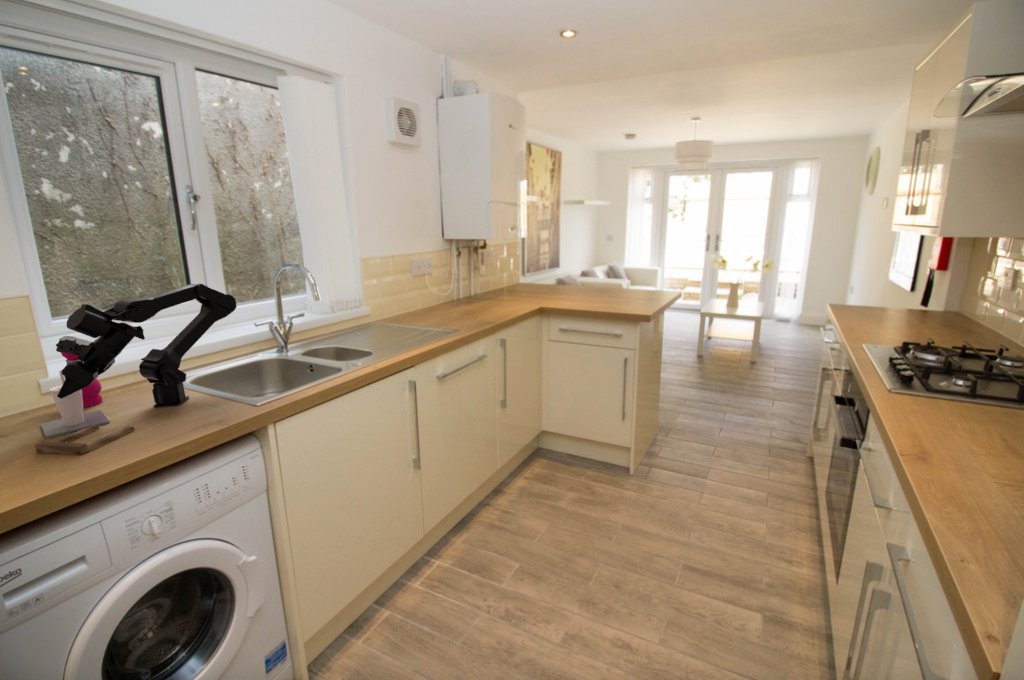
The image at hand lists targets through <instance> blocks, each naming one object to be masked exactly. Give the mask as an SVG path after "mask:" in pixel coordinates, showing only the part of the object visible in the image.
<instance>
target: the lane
mask: <svg viewBox="0 0 1024 680" xmlns="http://www.w3.org/2000/svg"><path fill="white" fill-rule="evenodd" d="M99 429H100V426H99V425H91V426H89V427H86V428H84V429H82V430H79V431H76V432H72V433H69V434H66V436H65V435H64V436H63V437H60V438H58V439H56V440H53V441H41V442H38V443H35V444H34V448H35V451H36V453H37V452H39V453H38V454H49V453H63V454H62V455H69V454H77V455H76V456H83V455H84V453H85V454H87V453H89V452H91V451H94V450H95V448H96V449H98V448H100V447H101V445H102V446H104V445H106V444H108V443H110V442H112V440H113V441H115V440H117V439H118V437H119V438H121V437H123V436H125V435H127V434H129V432H130V433H132V432H134V431H135V427H134V425H133V426H132V425H128V426H125V427H123V428H121V429H119V430H116V431H114V432H112V433H110V434H108V435H105V436H103V437H100V438H99V439H97V440H95V441H92V442H90V443H88V444H87V443H83V442H82V443H81V442H72V441H74V440H76V438H77V439H79V438H81V437H83V436H86V435H88V434H90V432H91V433H93V432H95V431H98V430H99ZM133 430H134V431H133ZM92 431H93V432H92ZM131 431H132V432H131ZM120 436H121V437H120ZM116 438H117V439H116ZM73 439H74V440H73ZM114 439H115V440H114ZM71 440H72V441H71ZM69 441H70V442H69ZM66 442H68V443H66ZM103 444H104V445H103ZM99 446H100V447H99ZM97 447H98V448H97ZM93 449H94V450H93ZM90 450H91V451H90ZM88 451H89V452H88ZM86 452H87V453H86ZM82 454H83V455H82Z"/></svg>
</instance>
